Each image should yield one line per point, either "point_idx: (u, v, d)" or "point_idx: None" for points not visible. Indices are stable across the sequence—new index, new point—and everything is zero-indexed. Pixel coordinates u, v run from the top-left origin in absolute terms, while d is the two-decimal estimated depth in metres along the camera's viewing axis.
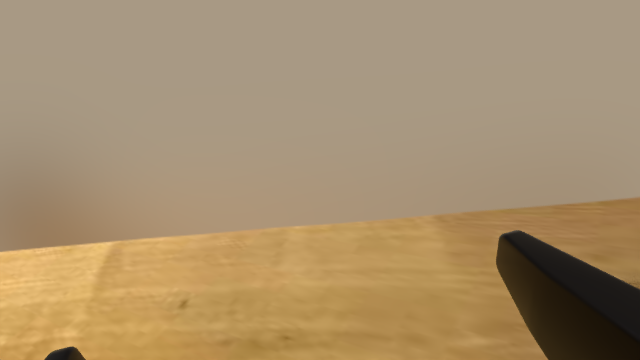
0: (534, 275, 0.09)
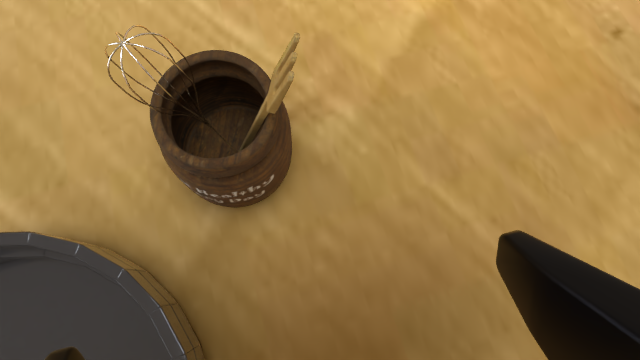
0: (534, 275, 0.09)
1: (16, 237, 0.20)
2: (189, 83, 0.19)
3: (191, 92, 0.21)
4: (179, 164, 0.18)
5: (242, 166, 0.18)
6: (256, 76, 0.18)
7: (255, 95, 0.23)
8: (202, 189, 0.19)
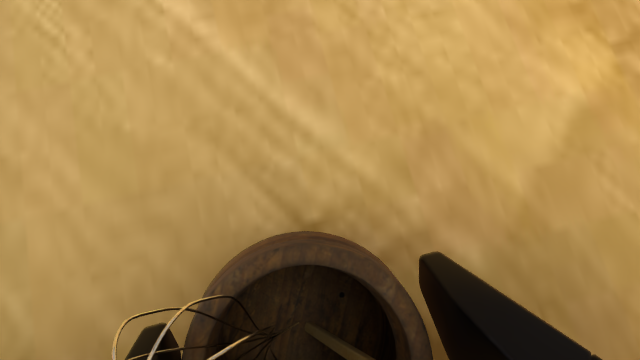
0: (445, 300, 0.08)
1: None
2: None
3: None
4: None
5: None
6: (391, 304, 0.09)
7: None
8: None
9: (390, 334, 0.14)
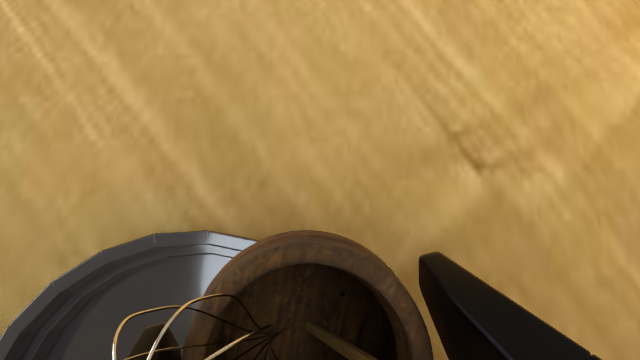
0: (444, 300, 0.08)
1: (246, 244, 0.19)
2: None
3: None
4: None
5: None
6: (392, 303, 0.09)
7: None
8: None
9: (390, 333, 0.14)
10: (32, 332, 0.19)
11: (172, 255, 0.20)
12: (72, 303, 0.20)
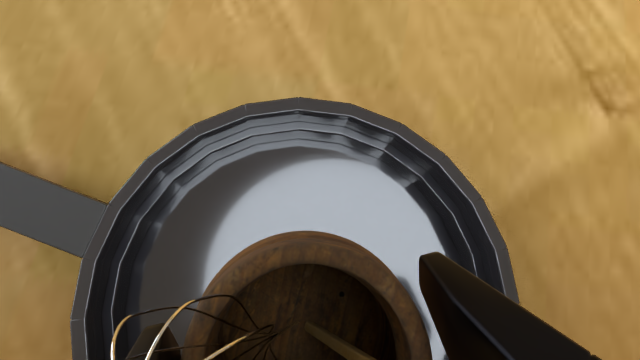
0: (444, 300, 0.08)
1: (388, 123, 0.19)
2: None
3: None
4: None
5: None
6: (391, 303, 0.09)
7: None
8: None
9: (390, 333, 0.14)
10: (161, 174, 0.19)
11: (304, 129, 0.20)
12: (201, 157, 0.20)
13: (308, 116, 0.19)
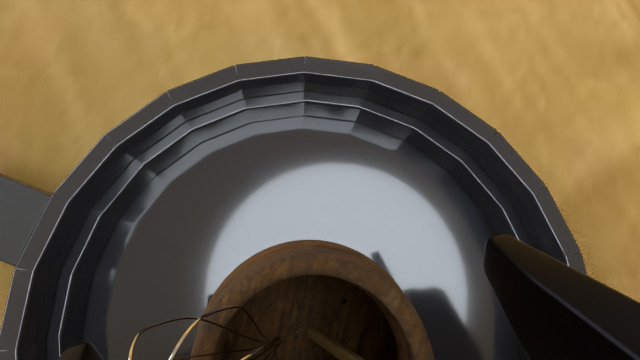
0: (519, 279, 0.09)
1: (421, 90, 0.14)
2: None
3: None
4: None
5: None
6: (396, 315, 0.09)
7: None
8: None
9: (392, 341, 0.14)
10: (127, 157, 0.14)
11: (311, 101, 0.16)
12: (179, 135, 0.15)
13: (317, 82, 0.15)
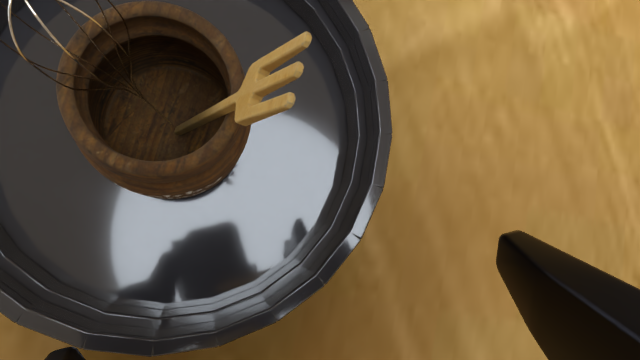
0: (534, 275, 0.09)
1: None
2: (121, 39, 0.14)
3: (122, 45, 0.16)
4: (93, 159, 0.12)
5: (185, 175, 0.13)
6: (221, 53, 0.13)
7: (209, 62, 0.17)
8: (123, 186, 0.14)
9: None
10: None
11: None
12: None
13: None
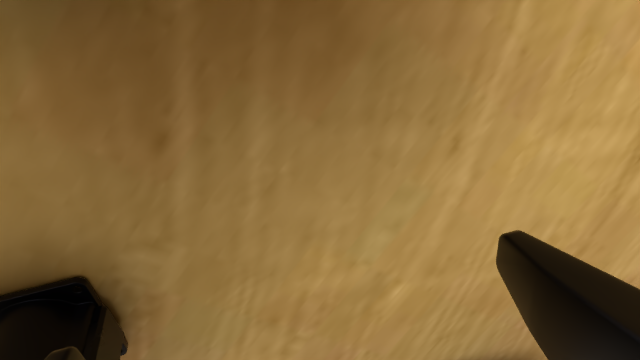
0: (534, 275, 0.09)
1: None
2: None
3: None
4: None
5: None
6: None
7: None
8: None
9: None
10: None
11: None
12: None
13: None
